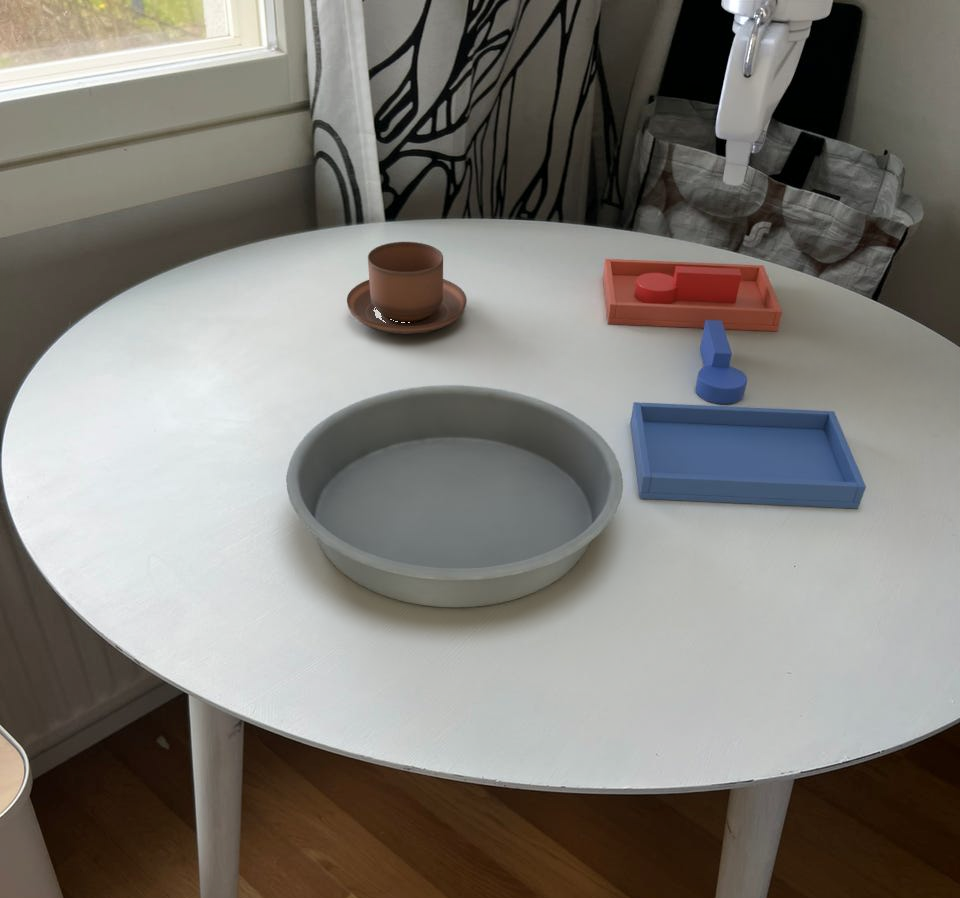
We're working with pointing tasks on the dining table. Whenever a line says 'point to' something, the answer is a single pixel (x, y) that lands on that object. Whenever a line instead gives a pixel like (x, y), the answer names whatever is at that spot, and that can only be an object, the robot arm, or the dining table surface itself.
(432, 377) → the dining table surface
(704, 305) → the tray red
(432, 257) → the cup and saucer
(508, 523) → the cake pan
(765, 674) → the dining table surface
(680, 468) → the tray blue
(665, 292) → the red lever handle
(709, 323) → the blue lever handle
